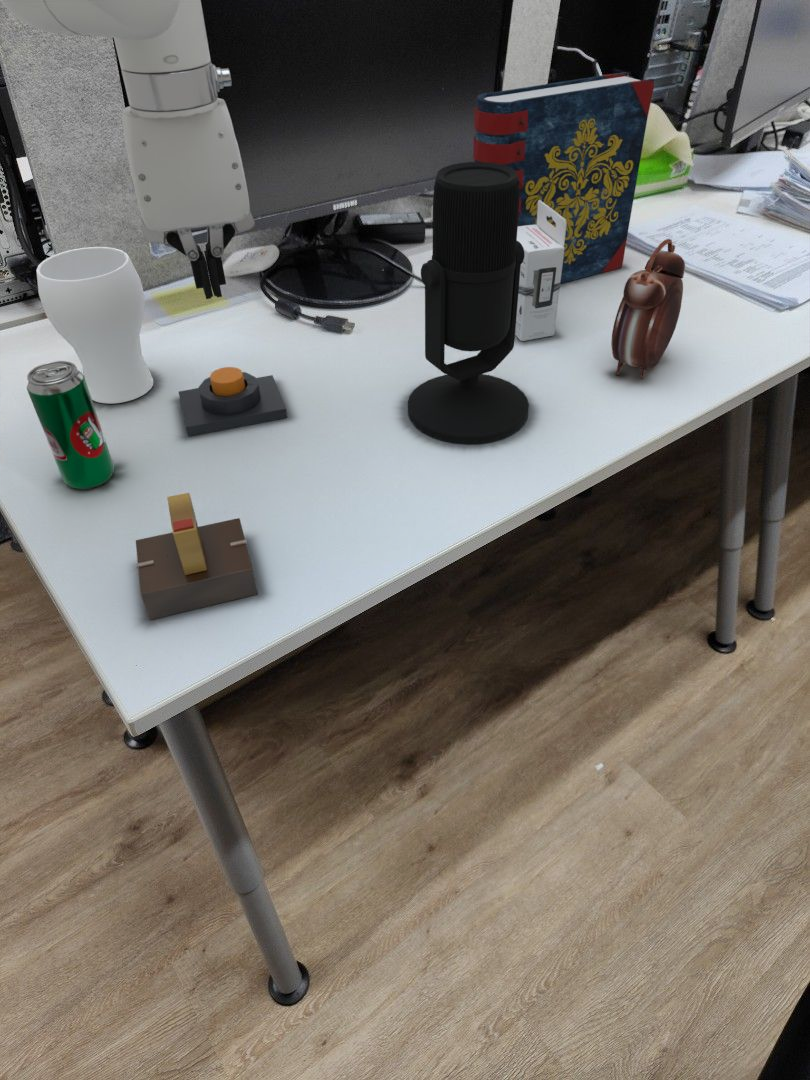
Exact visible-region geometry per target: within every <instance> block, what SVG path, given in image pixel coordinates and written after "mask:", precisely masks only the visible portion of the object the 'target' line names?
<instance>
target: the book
mask: <svg viewBox="0 0 810 1080" xmlns="http://www.w3.org/2000/svg"><path fill="white" fill-rule="evenodd" d="M654 88H655V79H653V78H647V79H637V78H633V77H631V76H628V72H626V71H623V72H622V71H621V72H616V73H608V74H607V73H606V74H602V75H597V76H591V77H584V78H583V77H582V78H578V79H571V80H564V81H558V82H551V83H545V84H539V85H532V86H525V87H519V88H518V87H517V88H514V89H513V88H512V89H506V90H505V89H504V90H500V91H494V92H484V93H480V94H478V95H477V96H476V106H475V107H474V123H473V124H474V127H473V128H474V131H475V135H474V137H473V146H472V147H473V153H472V154H473V160H474V162H488V163H496V164H501V165H505V166H508V167H511V168H513V169H514V170H515V171H516V172H517V175H518V179H519V215H518V226H526V225H537V211H538V201H539V200H541V201H542V202H543V203H545V204H546V205H548V206H549V207H550V208H552V209H553V210H554V211H555V212H557V213H558V214H559V215H560V216H562V217H563V218H564V219H566V222H567V226H566V234H565V243H564V256H563V264H562V273H561V281H560V285H561V284H565V283H568V282H572V281H576V280H580V279H584V278H588V277H591V276H595V275H599V274H603V273H607V272H611V271H615V270H618V269H622V268H623V264H624V259H625V252H626V246H627V239H628V235H629V230H630V223H631V216H632V210H633V206H634V200H635V193H636V187H637V181H638V176H639V169H640V164H641V159H642V158H641V157H642V153H643V146H644V140H645V135H646V129H647V123H648V119H649V113H650V109H651V104H652V103H651V102H652V99H653V95H654ZM547 221H548V222H549V223H550V224H552V225H553V226H554V227H556V223H555V222H554V221H553V219H552V217H548V216H547Z"/></svg>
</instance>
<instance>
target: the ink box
mask: <svg viewBox="0 0 810 1080" xmlns="http://www.w3.org/2000/svg"><path fill="white" fill-rule="evenodd" d="M547 216H548V217H552V219H553V221H554V222H555V223H556V227H554V226H553V225H552V224H550V223H549V222H548V221H547ZM566 226H567V222H566V219H564V218H563V217H562V216H560V215H559V214H558V213H557V212H555V211H554V210H553V209H552V208H550V207H549V206H548V205H546V204H545V203H543V202H542V201H541V200H539V201H538V211H537V225H526V226H518V229H517V241H519V242H520V243H521V244H522V246H523V248H524V260H523V263H522V264H521V267H520V280H519V292H518V304H517V317H516V329H515V337H517V338H518V340H519V341H521V342H526V341H531V340H537V339H542V338H548V337H553V336H554V335H555V330H556V321H557V314H558V305H559V299H560V298H559V297H560V288H561V284H560V281H561V273H562V264H563V256H564V243H565V234H566Z"/></svg>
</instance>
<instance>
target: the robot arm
mask: <svg viewBox="0 0 810 1080" xmlns="http://www.w3.org/2000/svg"><path fill="white" fill-rule="evenodd" d="M201 1H202V0H0V2H1V3H2V5H3V6H4V7H5V8H6V9H7V10H8V11H9V12H10V13H11V14H12V15H13V16H14V17H15V18H17V19H18V20H20V21H21V22H23V23H24V24H26V25H28V26H30V27H32V28H34V29H37V30H39V31H42V32H46V33H51V34H58V35H67V36H82V37H92V36H95V37H103V38H104V37H105V38H112V39H113V41H114V45H115V50H116V53H117V57H118V61H119V65H120V70H121V71H120V72H121V76H122V79H123V83H124V87H125V92H126V96H127V100H128V105H129V106H126V107H124V108H123V109H122V111H121V112H122V113H121V114H122V115H121V117H122V128H123V138H124V144H125V150H126V156H127V161H128V167H129V170H130V175H131V181H132V186H133V191H134V194H135V199H136V203H137V206H138V210H139V213H140V216H141V225H142V226H141V230H142V231H141V233H142V237H143V238H142V239H143V240H144V242H146V243H148V244H158V245H169V246H170V247H172V248H173V249H175V250H177V251H178V252H179V253H181V254H183V255H184V256H185V257H186V258H187V259H188V260H189V262H190V266H191V271H192V275H193V280H194V284H195V285H194V286H195V289H196V290H198V289H199V290H200V289H202V290H203V293H204V296H205V299H206V300H211V299H212V298H213V297H216V298H222V297H223V295H222V289H221V286H223V285H227V281H226V275H225V271H224V265H223V260H222V256H223V255H224V251H225V249H226V248H227V246H228V245H229V244H230V242H231V241H232V240H233V238H234V237H235V235H239V234H242V233H245V232H246V231H249V230H251V229H253V228H254V227H255V225H256V221H255V219H254V216H253V214H252V211H251V206H250V205H251V204H250V198H249V191H248V185H247V181H246V176H245V169H244V166H243V161H242V156H241V152H240V147H239V143H238V141H237V138H236V134H235V130H234V125H233V121H232V117H231V115H230V112H229V109H228V106H227V103H226V100H224V98H219V94H218V93H221V91H220V90H221V89H224V87H232V83H233V82H232V76H231V72H230V69H229V67H227V68H221V67H220V66H219V67H216V65H215V64H213V63H212V60H211V54H210V49H209V41H208V36H207V30H206V23H205V18H204V11H203V7H202V2H201ZM204 227H206V238H207V239H206V240H207V242H206V244H204V245H205V250H202V249H201V246H200V245H199V244H197V243H196V241H195V238H194V235H193V232H192V230H191V229H197V228H204Z"/></svg>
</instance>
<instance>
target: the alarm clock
mask: <svg viewBox="0 0 810 1080" xmlns="http://www.w3.org/2000/svg"><path fill="white" fill-rule="evenodd" d="M665 246H667V250H662V249H663V248H664V247H665ZM675 250H676V246H675V244H673V241H672V239H670V238H667V239H665V240H664V239H663V240H662V242H660V244H659V245H658V246H657V247H656V248H655V250H654V251H653V252H652V254H651V255H650V257H649V258H648V260H647V262H646V264H645V266H644V269H642V270H637V271H636V272H634V273H632V274H631V275H630V277H628V278H627V280H626V282H625V284H624V287H623V296H622V299H621V301H620V302H619V306H618V309H617V312H616V315H615V319H614V321H613V327H612V333H611V343H610V344H611V345H610V346H611V353H612V357H613V359H614V360H616V361H617V367H616V371H615V373H614V374H615V376H619V375H620V371H621V369H622V367H623V366H624V365H628V366H630V367H634V368H640V375H639V378H640V379H644V378H645V376H644V374H645V372H646V370H652V369H654V368H655V367H656V366H657V364H659V362H660V360H661V359H662V358H663V355H664V353H665V352H666V350H667V348H668V346H669V344H670V342H671V340H672V338H673V336H674V332H675V330H676V327H677V324H678V321H679V317H680V313H681V309H682V302H683V301H682V300H683V294H684V282H683V279H684V276H685V272H686V262H685V260H684V258H683V257H682V256H681V255H679V254H678V253H675Z"/></svg>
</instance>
